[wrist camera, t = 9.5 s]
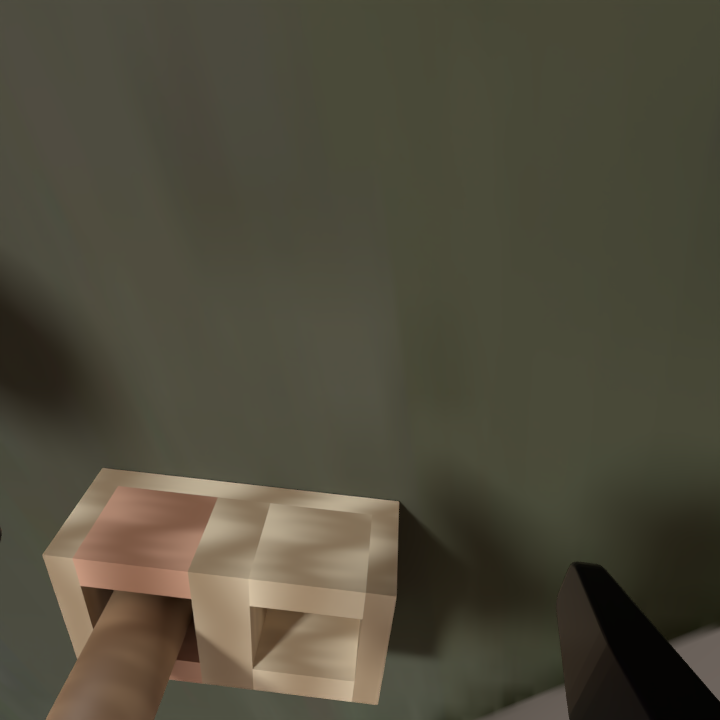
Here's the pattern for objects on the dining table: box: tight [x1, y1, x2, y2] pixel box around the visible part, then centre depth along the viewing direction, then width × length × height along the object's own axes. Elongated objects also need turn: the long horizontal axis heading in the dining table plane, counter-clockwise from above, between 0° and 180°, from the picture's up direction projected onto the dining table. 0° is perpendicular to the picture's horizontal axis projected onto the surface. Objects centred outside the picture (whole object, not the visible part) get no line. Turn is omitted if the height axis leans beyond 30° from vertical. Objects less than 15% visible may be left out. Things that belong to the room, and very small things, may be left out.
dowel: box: [46, 590, 193, 720], centre depth 23 cm, size 4×4×10 cm
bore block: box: [43, 468, 399, 705], centre depth 26 cm, size 14×8×5 cm, turn 86°
